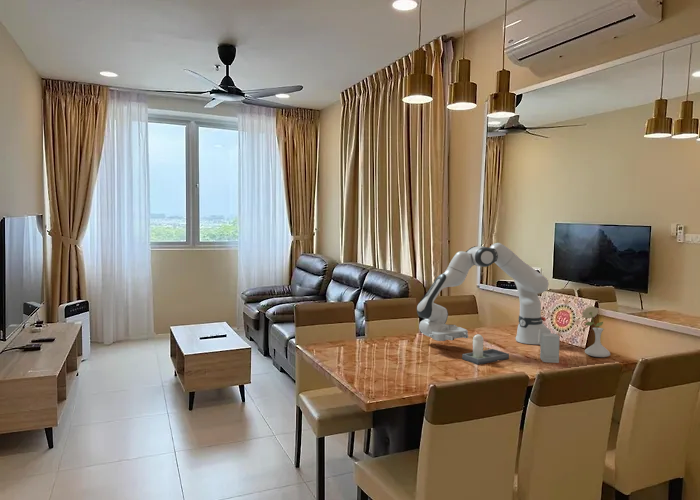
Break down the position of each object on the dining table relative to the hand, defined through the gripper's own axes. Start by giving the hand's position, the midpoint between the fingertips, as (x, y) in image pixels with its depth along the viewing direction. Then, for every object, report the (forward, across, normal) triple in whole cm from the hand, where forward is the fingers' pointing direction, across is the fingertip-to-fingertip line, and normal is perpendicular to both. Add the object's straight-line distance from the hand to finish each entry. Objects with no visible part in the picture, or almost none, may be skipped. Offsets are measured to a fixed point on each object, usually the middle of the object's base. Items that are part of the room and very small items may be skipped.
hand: (460, 337), depth 240 cm
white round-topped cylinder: (+12, 0, +7) cm, 14 cm away
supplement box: (+29, +30, +9) cm, 43 cm away
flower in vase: (+35, +57, +9) cm, 68 cm away
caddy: (+12, +5, +9) cm, 16 cm away
